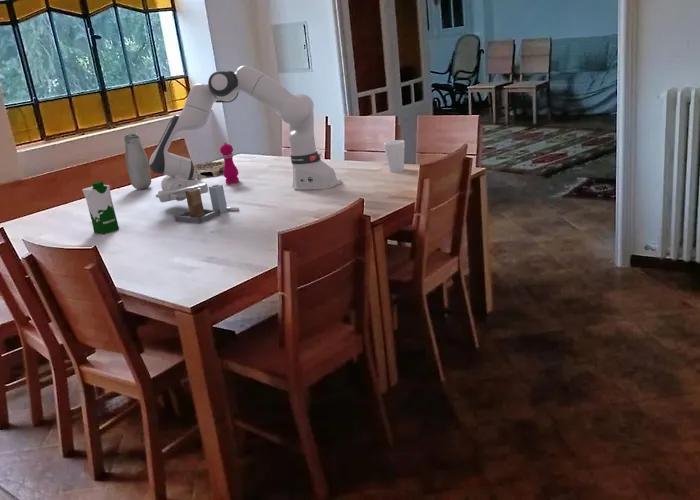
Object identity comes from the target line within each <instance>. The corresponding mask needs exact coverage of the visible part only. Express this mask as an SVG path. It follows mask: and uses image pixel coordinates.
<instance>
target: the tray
mask: <svg viewBox="0 0 700 500" xmlns="http://www.w3.org/2000/svg"><path fill="white" fill-rule="evenodd" d="M203 209H204V214H205V215H204V216H202V217H190V213H189V210H187V211H185V212H183V213H180V214H177V215H175V216H174V222H177V223H178V222H179V223H189V224H190V223H191V224H202V223H205V222H207V221H209V220H212V219H214V218H216V217H220V216H221V214H220V212H219V210H213V209H207V208H206V209H205V208H203Z"/></svg>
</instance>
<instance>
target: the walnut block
mask: <svg viewBox="0 0 700 500" xmlns="http://www.w3.org/2000/svg"><path fill="white" fill-rule="evenodd" d="M185 194H186V203H187V207H188V211H189V213H190V217H202V216H204V215H205V214H204V209H205V208H204V205H203V199H202V194H200V189H190V190H187V191H185Z"/></svg>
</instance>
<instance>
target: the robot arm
mask: <svg viewBox="0 0 700 500" xmlns="http://www.w3.org/2000/svg"><path fill="white" fill-rule="evenodd" d="M207 82H208V83H207V84H205V83H194V85H193V86H192V87H191V89H190V90H189V92H188V95H187V98H186V100H185V102H184V105H183V108H182V110H181V112H179V114H175V115H173V116H172V118H170V121H168V124H167V126H166V128H165V130H164V132H163V134H162V136H161V138H160V140H159V141H158V144H157V146H156V147H155V149H154V151H153V152H152V154H151V156H150V157H149V160H148V164H149V169H150V170H151V171H152V172H153V173H154V174H157V175H158V174H159V175H165V177H164V178H163V179H162V180H161V183H160V184H161V190H160V191H158V192H157V194H155V197H156V198H158V199H159V202H161V203H167V202H172V201H177V202H180V201H185V200H187V198H186V194H185V191H187V190H190V189H200V194H201V195H202V194H206V193H208V192H209V186H208V183H207V182H205V181H203V180H201V181H198V179H192V177H193V174H194V164H193V161H192V160H191V158H187V157H185V156H183V155H182V156H181V155H179V154H175V153H172V152H169V151H168V150H169V148H170V146H171V144H172V142H173V140H174V138H175V136H176V135H177V133H179V132H182V131H195V130H200V129H202V128H203V127H205V125H207V122H208V120H209V118H210V113H211V110H212V108H213V105H214V103H217V104H218V103H219V104H220V103H222V104H223V103H232V102H233V101H235V100H236V99H237V98H238V96H239V92H242V93H244V94H247V95H249V96H251V97H252V98H254V99H255V100H257V101H258V102H260V103H262V104H263V105H265V106H266V107H268V108H269V109H270V110H271V111H273V112H274V113H275V114H276V115H277V116H279V117H280V118H281V119H282V121H284V122H285V123H286V124H289V127H288V128H289V132H288V142H289V149H290V160H291V161H290V162H291V165H292V173H293V175H292V176H293V177H292V178H293V179H292V181H293V182H292V185H291V186H292V188H293V189H294V191H302V190H304V191H305V190H309V191H310V190H326V189H327V190H328V189H331V188H334V187H337V186H338V185H340V184H341V183H342V182H343V180H342V178H337V175H336V172H335V169H334V168H333V167H331V166H330V165H328V164H327V163H325V162H324V161H323V160H322V159H321V157H322V156H323V155H322V152H321V153H319V152H318V151H317V145H316V140H315V133H314V132H315V129H314V128H315V124H314V123H315V119H314V101H313V99H312V98H311V97H310V96H308V95H306V94H303V93H298V94H297V93H296V94H295V95H294V94H293V93H291V92H290V91H289V90H287V89H286V88H285V87H284V86H283V85H282V84H281V83H280V82H278V81H277V80H276V79H274V78H272V77H271V76H268V75H267V74H265V73H264V72H262V71H260V70H258V69H255V68H254V67H251V66H249V65H241V66H239V67H238V68H237V69H236V71H235V72H233V71H231V70H218V71H214V72H213V73H211V74H210V76H209V77H208V80H207Z"/></svg>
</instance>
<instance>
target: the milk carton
mask: <svg viewBox="0 0 700 500" xmlns="http://www.w3.org/2000/svg"><path fill="white" fill-rule="evenodd" d="M91 183H92V186H90V187H85V188H82V189H81V190H82V192H83V195H84V198H85V200H86V205H87V208H88V212H89V216H90V219H91V223H92V228H93V233H95V234H100V235H106V234H109V233H111V232H115V231H117V230H120V227H119V223H118V218H117V215H116V211H115V207H114V202H113V199H112V195H111V186H110V185H108V184H104V181H103V180H99V181H95V182H91Z"/></svg>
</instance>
